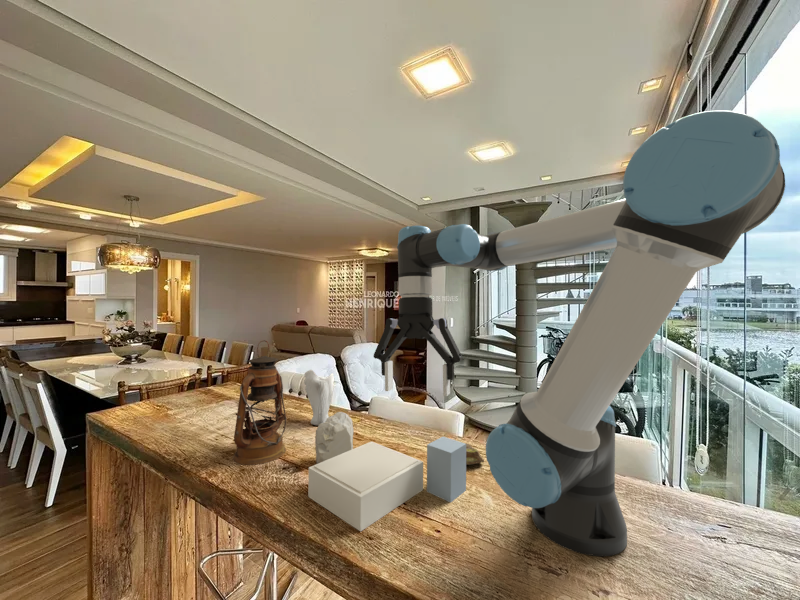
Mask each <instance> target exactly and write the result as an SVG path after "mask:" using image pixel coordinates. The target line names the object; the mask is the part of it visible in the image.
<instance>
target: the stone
mask: <svg viewBox="0 0 800 600" xmlns="http://www.w3.org/2000/svg"><path fill="white" fill-rule="evenodd" d="M353 424H354V423H353V419H352V418H351V416H350V415H349V414H347V413H345V412H343V411H337V412H335V413H334V414H333V415H331V416H330V415H329V417H328V418H327V419H326V421H325V423H322V424H319V425H317V426H318V427H317V428H316V430H315V441H314V443H315V461H316V464H319V463H321V462H323V461H326V460H328V459H331V458H333V457H335V456H338V455H340V454H343V453H345V452H347V451H350V450H352V449H354V444H353V440H354V431H355V430H354V425H353Z"/></svg>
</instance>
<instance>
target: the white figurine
mask: <svg viewBox="0 0 800 600" xmlns="http://www.w3.org/2000/svg"><path fill="white" fill-rule="evenodd" d="M334 376H335V375H334V372H332V373H330V374H329V375H328V376H327V377H326V376H325V377H319V376H318V375H317V374H316V373H315V370H313V369H309V370H306V372H304V378H305V379H304V381H303V383H304V385H305V386H304V388H305V392H306V395H307V398H308V401H309V404H310V406H311V410H312V417H311V420H310V424H311V425H314V426H318V425H319V424H322V423H325V421H326V419H327V418H328V417H330V415H329V409H330V406H331V401H332V396H333V390H334V387H335V386H334V385H335V384H334V383H335V378H334Z"/></svg>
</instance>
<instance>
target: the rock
mask: <svg viewBox="0 0 800 600" xmlns="http://www.w3.org/2000/svg"><path fill="white" fill-rule="evenodd" d="M464 443H465V442H464ZM465 444H466V466H467V465H468V466H469V465H475V464H480V463H484V462H485V459H484V458H483V456H482V454H480V451H479V450H478V449H477V448H474V447H473V445H471V444H469V443H465Z"/></svg>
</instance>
